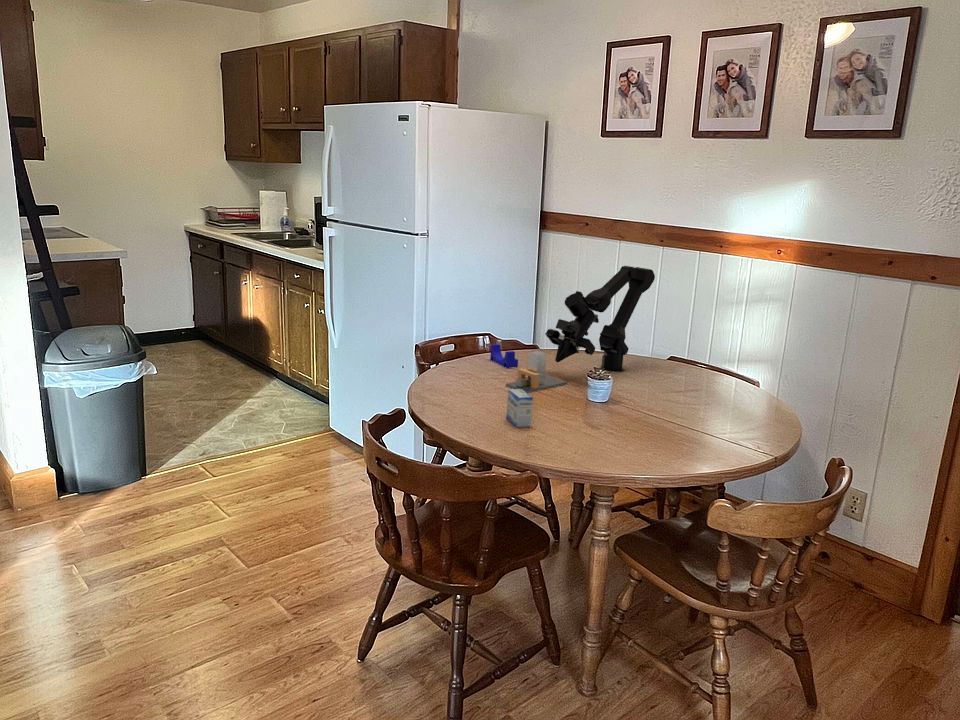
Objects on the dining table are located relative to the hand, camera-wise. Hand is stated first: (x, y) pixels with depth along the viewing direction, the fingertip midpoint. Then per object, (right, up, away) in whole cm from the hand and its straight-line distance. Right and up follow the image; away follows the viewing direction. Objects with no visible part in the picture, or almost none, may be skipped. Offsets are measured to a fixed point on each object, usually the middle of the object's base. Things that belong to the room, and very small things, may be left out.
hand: (556, 361), depth 249 cm
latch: (-10, -7, -6) cm, 13 cm away
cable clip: (-17, -1, +21) cm, 27 cm away
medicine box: (-15, -17, -39) cm, 45 cm away
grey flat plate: (-7, -8, -4) cm, 11 cm away
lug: (-10, -8, -6) cm, 14 cm away
